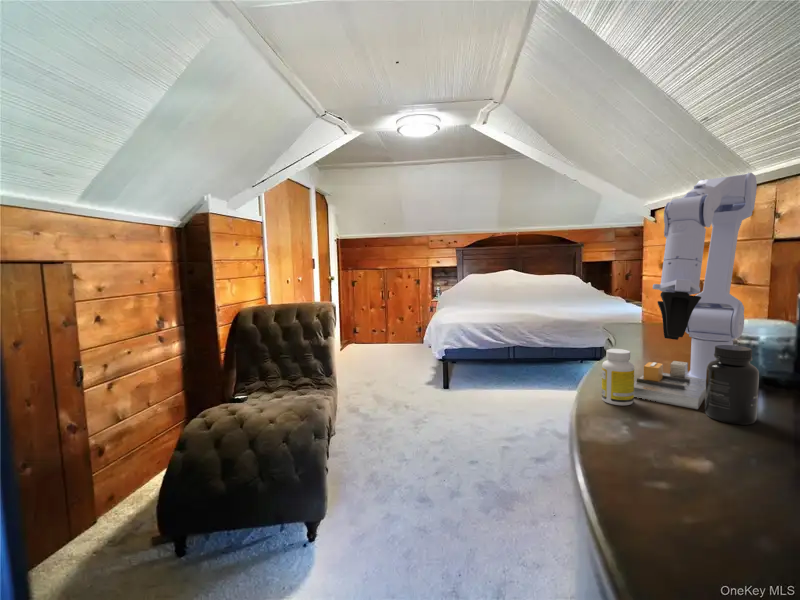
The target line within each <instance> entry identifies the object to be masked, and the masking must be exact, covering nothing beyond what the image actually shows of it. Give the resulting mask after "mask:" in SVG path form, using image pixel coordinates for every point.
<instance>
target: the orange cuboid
mask: <svg viewBox="0 0 800 600" xmlns="http://www.w3.org/2000/svg"><path fill="white" fill-rule="evenodd" d="M663 370H664V364H663V363H659V362H651V361H648V362H647V363H646V364H645V365H643V374H644V379H646V380H652V381H658V382H659V381H660V380H661V379H662V378H663V373H664V371H663Z"/></svg>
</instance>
